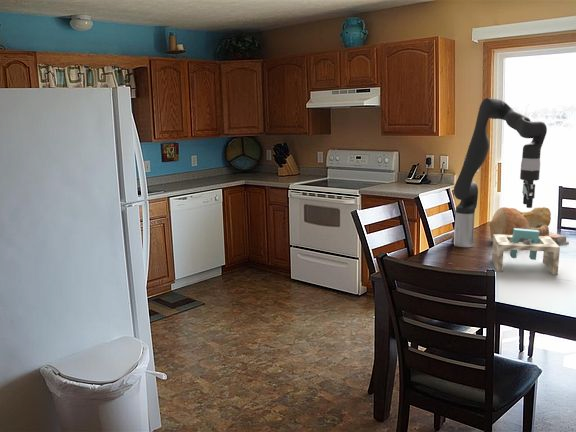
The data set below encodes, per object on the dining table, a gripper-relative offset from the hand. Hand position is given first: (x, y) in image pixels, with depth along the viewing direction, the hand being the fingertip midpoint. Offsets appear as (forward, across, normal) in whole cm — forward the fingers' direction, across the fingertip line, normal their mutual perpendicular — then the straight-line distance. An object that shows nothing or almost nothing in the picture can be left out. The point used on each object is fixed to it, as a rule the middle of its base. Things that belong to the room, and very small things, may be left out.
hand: (527, 206), depth 241 cm
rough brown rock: (+28, -75, +14) cm, 81 cm away
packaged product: (+28, -53, +21) cm, 64 cm away
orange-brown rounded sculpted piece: (+28, -45, +4) cm, 53 cm away
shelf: (+27, 0, 0) cm, 27 cm away
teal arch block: (+23, 0, 0) cm, 23 cm away
